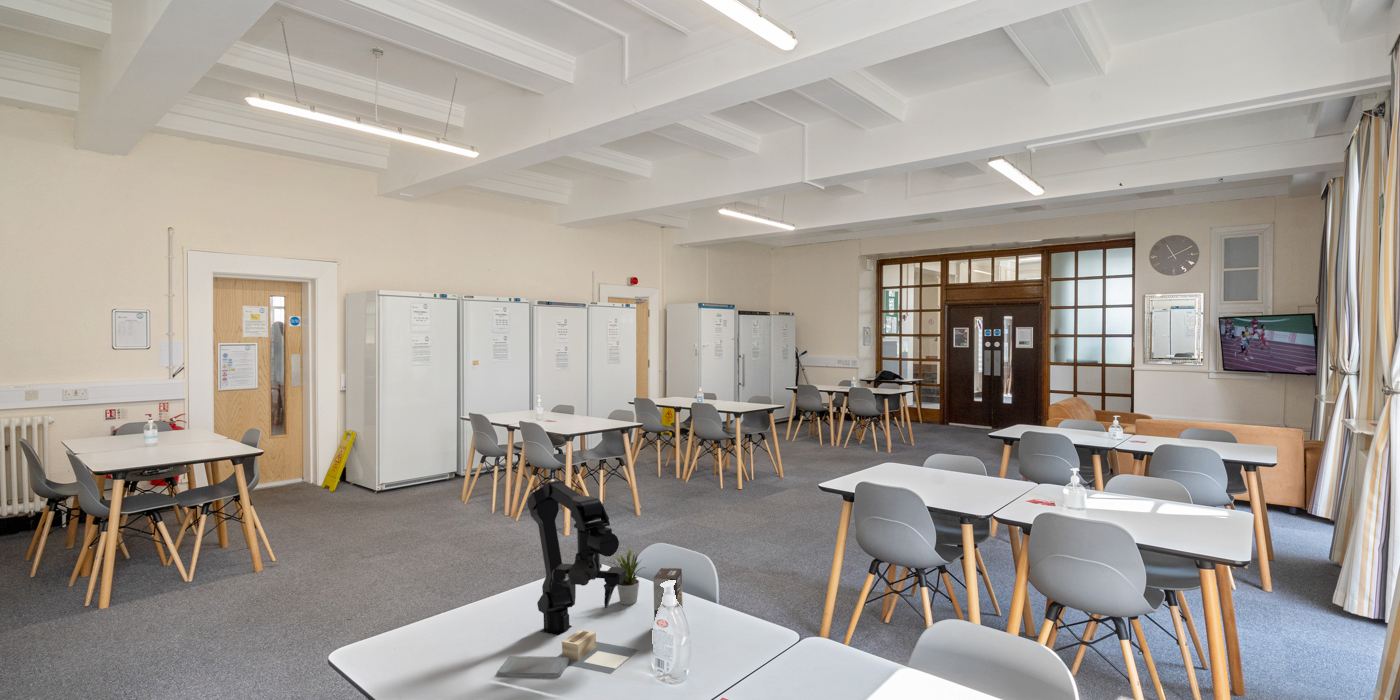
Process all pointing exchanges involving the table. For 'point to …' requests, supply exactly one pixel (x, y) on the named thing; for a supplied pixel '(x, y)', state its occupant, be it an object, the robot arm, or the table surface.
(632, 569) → the house plant
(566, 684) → the table surface
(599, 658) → the mat
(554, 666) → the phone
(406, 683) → the table surface
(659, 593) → the coffee box
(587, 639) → the cream block with stripe
